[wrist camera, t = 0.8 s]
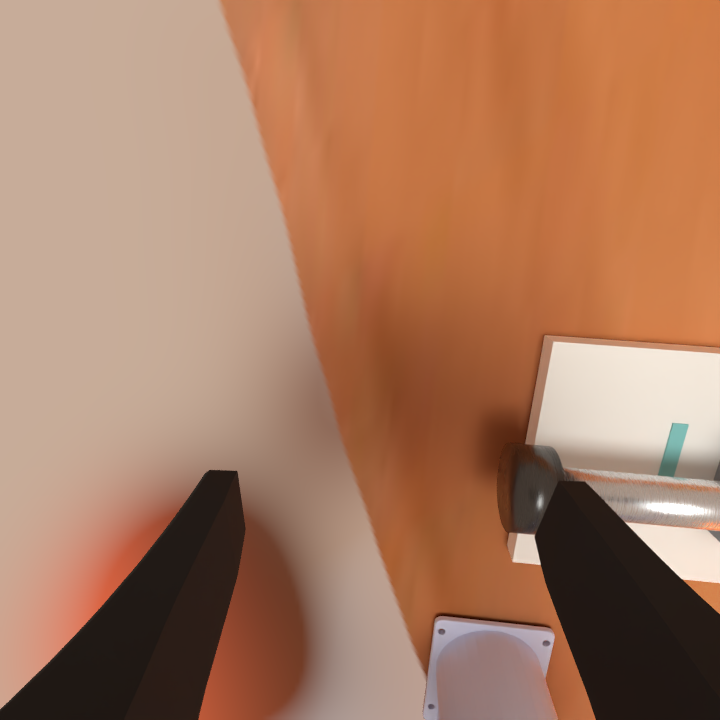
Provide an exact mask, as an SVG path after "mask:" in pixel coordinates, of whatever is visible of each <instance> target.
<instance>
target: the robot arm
mask: <svg viewBox="0 0 720 720" xmlns="http://www.w3.org/2000/svg"><path fill="white" fill-rule="evenodd" d="M244 535H245V522H244V515H243V508H242V501H241V494H240V487H239V479H238V473H237V471H220V470H209V471H208V472H207V473H205V474H204V476H203V477H202V479H201V480H200V482H199V483H198V485H197V486H196V488H195V489H194V491H193V492H192V493H191V495H190V496H189V498H188V499H187V501H186V502H185V503H184V505H183V506H182V508H181V509H180V510H179V512H178V513H177V514H176V516H175V517H174V518H173V520H172V521H171V522H170V524H169V525H168V526H167V528H166V529H165V530H164V532H163V533H162V534H161V536H160V537H159V538H158V539H157V541H156V542H155V543H154V545H153V546H152V547H151V548H150V550H149V551H148V552H147V553H146V555H145V556H144V557H143V559H142V560H141V561H140V562H139V563H138V565H137V566H136V567H135V568H134V569H133V571H132V572H131V573H130V574H129V575H128V576H127V578H126V579H125V580H124V581H123V582H122V583H121V585H120V586H119V587H118V588H117V589H116V590H115V592H114V593H113V594H112V595H111V596H110V597H109V599H108V600H107V601H106V602H105V603H104V605H102V607H101V608H100V609H99V610H98V611H97V612H96V613H95V614H94V615H93V616H92V618H91V619H90V620H89V621H88V622H87V623H86V624H85V625H84V627H82V628H81V629H80V631H79V632H78V633H77V634H76V635H75V636H74V637H73V638H72V639H71V640H70V641H69V642H68V643H67V644H66V645H65V646H64V648H62V650H60V651H59V652H58V654H57V655H56V656H55V657H54V658H53V659H52V660H51V661H50V662H49V663H48V664H47V665H46V666H45V667H44V668H43V669H42V670H41V671H39V673H37V674H36V676H34V677H33V678H32V679H31V680H30V681H29V682H28V683H27V684H26V685H25V686H24V687H23V688H22V689H21V690H20V691H19V692H18V693H17V694H16V695H15V696H14V697H13V698H12V699H11V700H10V701H9V702H8V703H7V704H6V705H4V706H3V707H2V708H1V709H0V720H198V718H199V713H200V709H201V705H202V701H203V697H204V693H205V689H206V685H207V681H208V678H209V675H210V671H211V668H212V664H213V661H214V657H215V654H216V650H217V646H218V643H219V640H220V636H221V632H222V629H223V625H224V622H225V619H226V615H227V611H228V608H229V604H230V601H231V597H232V594H233V590H234V586H235V583H236V579H237V575H238V570H239V564H240V559H241V553H242V547H243V541H244ZM534 537H535V542H536V546H537V550H538V555H539V559H540V563H541V567H542V571H543V574H544V578H545V582H546V585H547V588H548V591H549V593H550V596H551V599H552V601H553V604H554V607H555V610H556V612H557V615H558V618H559V620H560V623H561V626H562V628H563V631H564V633H565V636H566V639H567V641H568V644H569V647H570V649H571V652H572V655H573V657H574V660H575V662H576V665H577V668H578V670H579V673H580V676H581V678H582V681H583V684H584V686H585V689H586V691H587V694H588V697H589V700H590V703H591V706H592V709H593V712H594V715H595V718H596V720H720V614H719V613H718V612H716V611H715V610H714V609H713V608H712V607H711V606H710V605H709V604H708V603H707V602H706V601H704V600H703V599H702V598H701V597H700V596H699V595H698V594H697V593H696V592H695V591H694V590H693V589H692V588H691V587H690V586H688V585H687V584H686V583H685V582H684V581H683V580H682V579H681V578H680V577H679V576H678V575H677V574H676V573H675V572H674V571H673V570H672V569H671V568H670V567H669V566H668V565H667V564H666V563H665V562H664V561H663V560H662V559H661V558H660V557H659V556H658V555H657V554H656V553H655V552H654V551H653V550H652V549H651V548H650V547H649V546H648V545H647V544H646V543H645V542H644V541H643V540H642V539H641V538H640V537H639V536H638V535H637V534H636V533H635V532H634V531H633V530H632V529H631V528H630V527H629V526H628V525H627V524H626V523H625V522H624V521H623V520H622V519H621V518H620V517H619V516H618V515H617V513H616V512H615V511H614V510H613V509H612V508H611V507H610V506H609V505H608V504H607V503H606V502H605V501H604V500H603V499H602V498H601V497H600V496H599V495H598V494H597V493H596V492H595V491H594V490H593V489H592V488H591V487H590V486H589V485H588V484H587V483H586V482H585V481H558V483H557V485H556V488H555V490H554V492H553V495H552V497H551V499H550V502H549V504H548V506H547V509H546V511H545V513H544V516H543V518H542V520H541V522H540V525H539V527H538V529H537V532H536V534H535V536H534ZM439 629H443V630H439ZM554 639H555V635H554V632H553V631H552V629H550V628H547V627H538V626H529V625H520V624H511V623H502V622H493V621H484V620H474V619H465V618H456V617H447V616H439V617H437V618H436V619H435V622H434V629H433V637H432V645H431V652H430V660H429V668H428V675H427V683H426V691H425V699H424V706H423V717H424V719H425V720H558V717H557V714H556V711H555V708H554V705H553V702H552V699H551V696H550V693H549V690H548V687H547V684H546V680H545V678H546V674H547V669H548V665H549V661H550V656H551V652H552V648H553V644H554ZM546 640H547V641H546Z"/></svg>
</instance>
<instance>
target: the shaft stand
mask: <svg viewBox="0 0 720 720" xmlns="http://www.w3.org/2000/svg"><path fill="white" fill-rule="evenodd" d="M525 444H530V445H542V446H551V447H553V448H554V449H555V450H556V452H557V454H558V456H559V458H560V460H561V463H562V467H567V468H578V469H589V470H601V471H612V472H623V473H634V474H646V475H657V476H668V477H680V478H691V479H702V480H714V481H720V347H706V346H692V345H678V344H664V343H650V342H636V341H622V340H608V339H594V338H580V337H566V336H552V335H545V336H544V341H543V347H542V353H541V358H540V364H539V369H538V375H537V380H536V386H535V392H534V397H533V403H532V408H531V414H530V419H529V425H528V431H527V436H526V442H525ZM625 523H626V524H627V525H628V526H629V527H630V528H631V529H632V530H633V531H634V532H635V533H636V534H637V535H638V536H639V537H640V538H641V539H642V540H643V541H644V542H645V543H646V544H647V545H648V546H649V547H650V548H651V549H652V550H653V551H654V552H655V553H656V554H657V555H658V556H659V557H660V558H661V559H662V560H663V561H664V562H665V563H666V564H667V565H668V566H669V567H670V568H671V569H672V570H673V571H674V572H675V573H676V574H677V575H678V576H679V577H680V578H681V579H685V580H695V581H705V582H714V583H720V531H712V530H701V529H691V528H680V527H670V526H659V525H649V524H638V523H628V522H625ZM534 536H535V535H529V534H519V533H509V537H508V542H507V547H508V550H509V553H510V556H511V559H512V562H518V563H527V564H537V565H541V563H540V559H539V555H538V550H537V546H536V542H535V537H534Z"/></svg>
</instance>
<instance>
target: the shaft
mask: <svg viewBox="0 0 720 720" xmlns="http://www.w3.org/2000/svg"><path fill="white" fill-rule="evenodd" d="M558 481H585V482H586V483H587V484H588V485H589V486H590V487H591V488H592V489H593V490H594V491H595V492H596V493H597V494H598V495H599V496H600V497H601V498H602V499H603V500H604V501H605V502H606V503H607V504H608V505H609V506H610V507H611V508H612V509H613V510H614V511H615V512H616V513H617V515H618V516H619V517H620V518H621V519H622V520H623V521H624V522H628V523H638V524H649V525H659V526H670V527H680V528H691V529H701V530H712V531H720V481H714V480H702V479H691V478H680V477H668V476H657V475H646V474H634V473H623V472H612V471H601V470H589V469H578V468H567V467H562V463H561V460H560V458H559V456H558V454H557V452H556V450H555V449H554V448H553V447H551V446H542V445H530V444H519V443H507V444H506V445H505V446H504V448H503V450H502V453H501V456H500V461H499V467H498V476H497V500H498V509H499V515H500V519H501V523H502V525H503V527H504V529H505V530H506V531H507V532H509V533H519V534H529V535H535V534H536V532H537V529H538V527H539V525H540V522H541V520H542V518H543V516H544V513H545V511H546V509H547V506H548V504H549V502H550V499H551V497H552V495H553V492H554V490H555V488H556V485H557V483H558Z"/></svg>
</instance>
